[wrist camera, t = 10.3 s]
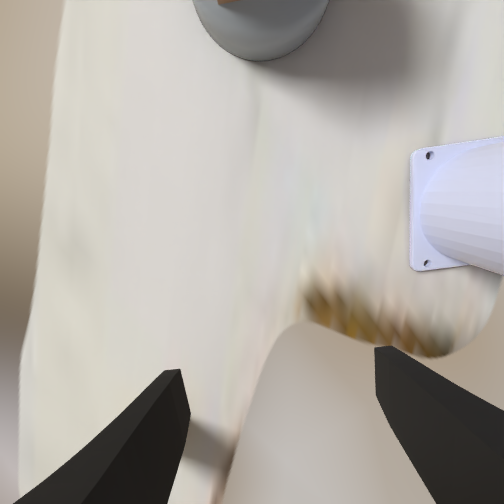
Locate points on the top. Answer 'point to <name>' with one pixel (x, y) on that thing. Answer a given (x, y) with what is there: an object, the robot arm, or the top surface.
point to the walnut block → (225, 1)
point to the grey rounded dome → (260, 25)
